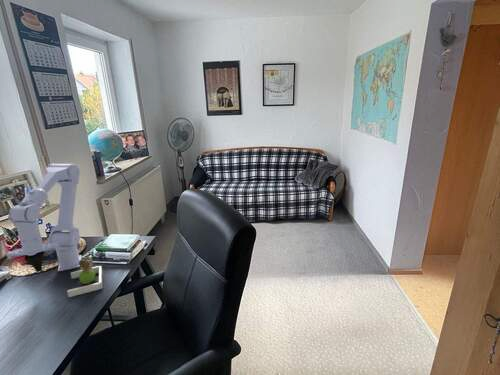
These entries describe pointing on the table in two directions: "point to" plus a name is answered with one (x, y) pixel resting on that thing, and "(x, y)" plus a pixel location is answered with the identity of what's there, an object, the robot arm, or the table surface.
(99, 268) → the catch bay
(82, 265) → the snail figurine
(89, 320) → the table surface
